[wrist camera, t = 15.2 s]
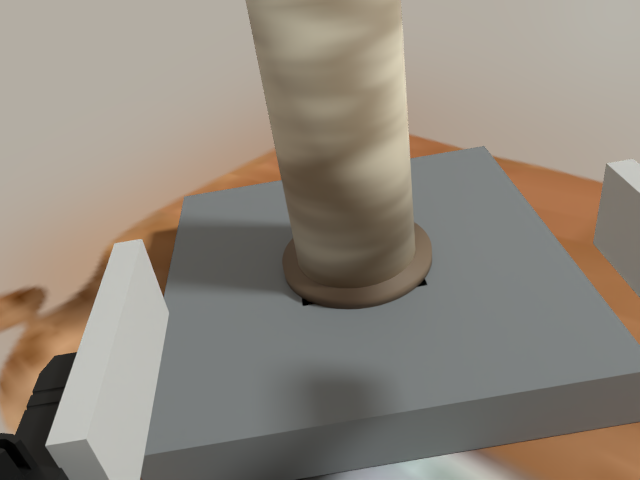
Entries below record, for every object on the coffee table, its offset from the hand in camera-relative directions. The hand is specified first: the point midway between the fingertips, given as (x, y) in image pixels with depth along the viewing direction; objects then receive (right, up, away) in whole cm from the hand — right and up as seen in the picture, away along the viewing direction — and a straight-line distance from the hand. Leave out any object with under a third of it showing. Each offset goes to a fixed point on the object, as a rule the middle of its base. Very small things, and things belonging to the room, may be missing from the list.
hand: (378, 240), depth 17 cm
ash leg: (+1, -3, +15) cm, 15 cm away
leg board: (+1, -3, +15) cm, 16 cm away
